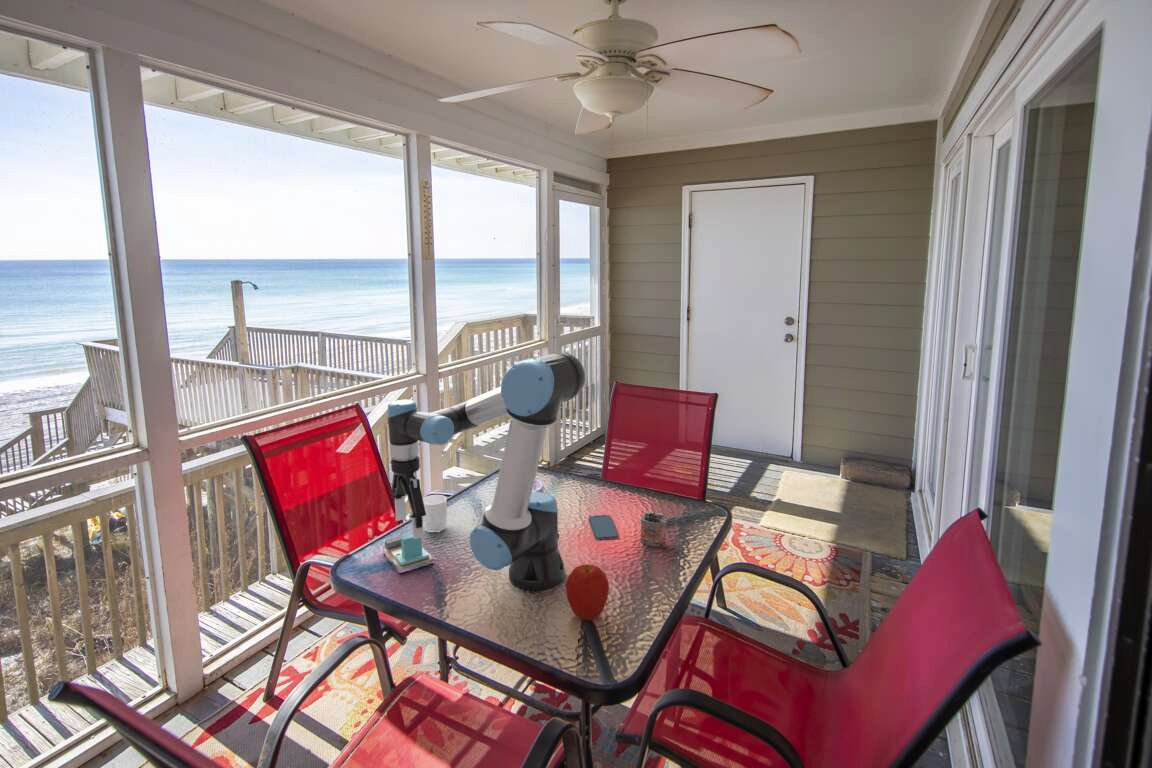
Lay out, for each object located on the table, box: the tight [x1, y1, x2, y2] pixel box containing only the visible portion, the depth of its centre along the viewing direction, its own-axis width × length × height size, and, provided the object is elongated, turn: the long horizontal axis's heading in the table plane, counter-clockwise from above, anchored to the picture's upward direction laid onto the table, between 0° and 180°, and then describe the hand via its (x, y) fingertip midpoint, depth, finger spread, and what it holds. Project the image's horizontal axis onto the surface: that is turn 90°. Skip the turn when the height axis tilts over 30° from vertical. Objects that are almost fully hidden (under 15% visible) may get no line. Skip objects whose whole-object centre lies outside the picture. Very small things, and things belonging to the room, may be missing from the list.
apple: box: [565, 563, 610, 621], centre depth 140 cm, size 10×10×14 cm
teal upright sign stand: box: [395, 532, 430, 566], centre depth 166 cm, size 5×8×7 cm, turn 126°
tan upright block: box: [639, 510, 667, 548], centre depth 177 cm, size 8×3×10 cm, turn 62°
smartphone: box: [588, 514, 619, 541], centre depth 188 cm, size 8×2×15 cm
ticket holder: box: [382, 536, 435, 570], centre depth 169 cm, size 14×10×4 cm
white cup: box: [422, 494, 448, 532], centre depth 188 cm, size 8×8×10 cm
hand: (409, 528), depth 165 cm, fingers open, 13 cm apart
